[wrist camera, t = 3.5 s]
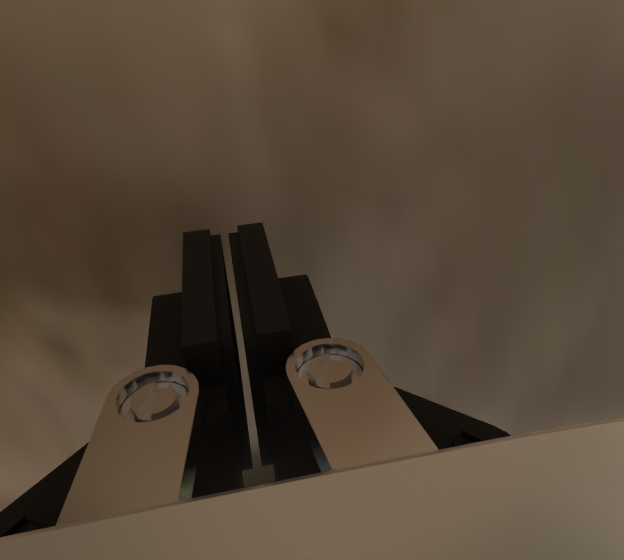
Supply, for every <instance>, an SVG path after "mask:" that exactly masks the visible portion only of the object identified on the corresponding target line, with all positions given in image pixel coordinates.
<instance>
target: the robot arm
mask: <svg viewBox="0 0 624 560" xmlns="http://www.w3.org/2000/svg"><path fill="white" fill-rule="evenodd" d="M237 228H238V232H236V233H228V235H229V242H230V249H231V256H232V263H233V269H234V276H235V283H236V290H237V297H238V304H239V311H240V318H241V325H242V332H243V339H244V345H245V352H246V359H247V366H248V373H249V380H250V386H251V393H252V400H253V407H254V414H255V420H256V427H257V434H258V441H259V448H260V455H261V461H262V466H267V465H272V464H273V465H274V471H275V477H276V482H271V483H266V484H261V485H256V486H251V487H246V488H244V486H243V476H242V470H247V469H252V468H253V465H252V457H251V449H250V441H249V433H248V425H247V417H246V409H245V401H244V393H243V385H242V377H241V370H240V362H239V354H238V346H237V339H236V333H235V326H234V320H233V313H232V307H231V300H230V294H229V288H228V281H227V275H226V268H225V262H224V255H223V249H222V243H221V236H220V235H213V236H211V235H210V230H209V229H207V230H199V231H192V232H184V233H183V273H182V292H180V293H173V294H167V295H160V296H154V297H153V300H152V307H151V317H150V326H149V335H148V344H147V353H146V363H145V368H144V369H141V370H138V371H136V372H133V373H132V374H130V375H128V376H127V377H125V378H123V379H122V380H121V381H120V382H119V383H118V384H116V385H115V386H114V387H113V388H112V390H111V392H110V393H109V395H108V396H107V398H106V400H105V403H104V405H103V408H102V410H101V413H100V416H99V418H98V421H97V423H96V426H95V428H94V431H93V433H92V436H91V438H90V441H89V442H88V443H87V444H86V445H85V446H83V447H82V448H81V449H80V450H78V451H77V452H76V453H75V454H73V455H72V456H71V457H70V458H68V459H67V460H66V461H64V462H63V463H62V464H61V465H59V466H58V467H57V468H56V469H54V470H53V471H52V472H51V473H49V474H48V475H47V476H46V477H44V478H43V479H42V480H40V481H39V482H38V483H37V484H35V485H34V486H33V487H32V488H30V489H29V490H28V491H27V492H25V493H24V494H23V495H22V496H20V497H19V498H18V499H16V500H15V501H14V502H13V503H11V504H10V505H9V506H8V507H6V508H5V509H4V510H3V511H1V512H0V560H624V417H620V418H614V419H607V420H601V421H594V422H588V423H581V424H575V425H568V426H562V427H555V428H550V429H545V430H540V431H535V432H523V434H519V435H514V436H510V435H509V434H508V433H506V432H505V431H503V430H501V429H499V428H497V427H495V426H493V425H490V424H488V423H485V422H483V421H480V420H478V419H475V418H472V417H470V416H467V415H465V414H462V413H460V412H457V411H455V410H452V409H449V408H447V407H444V406H442V405H439V404H437V403H434V402H432V401H429V400H427V399H424V398H421V397H419V396H416V395H414V394H411V393H409V392H406V391H404V390H401V389H398V388H396V387H393V386H392V384H391V383H390V381H389V380H388V379H387V377H386V376H385V375H384V373H383V372H382V370H381V369H380V368H379V366H378V365H377V363H376V362H375V361H374V359H373V358H372V357H371V355H370V354H369V353H368V352H367V351H366V350H365V349H364V348H363V347H362V346H360V345H358V344H356V343H354V342H352V341H348V340H344V339H340V338H331V336H330V334H329V331H328V328H327V326H326V323H325V320H324V318H323V315H322V312H321V310H320V307H319V304H318V302H317V299H316V297H315V294H314V291H313V289H312V286H311V283H310V281H309V278H308V276H307V275H306V274H305V275H298V276H291V277H284V278H278V277H277V273H276V270H275V266H274V263H273V259H272V255H271V252H270V248H269V245H268V241H267V238H266V234H265V231H264V227H263V224H262V223H254V224H246V225H238V226H237Z"/></svg>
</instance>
